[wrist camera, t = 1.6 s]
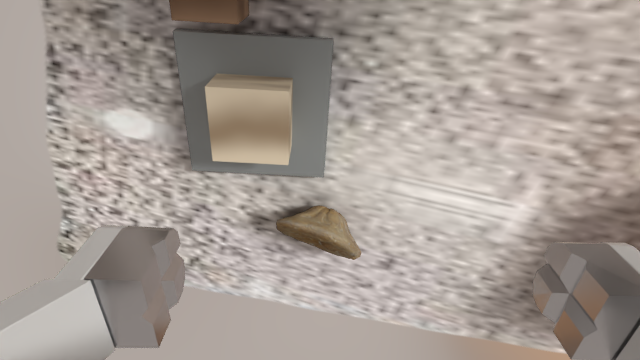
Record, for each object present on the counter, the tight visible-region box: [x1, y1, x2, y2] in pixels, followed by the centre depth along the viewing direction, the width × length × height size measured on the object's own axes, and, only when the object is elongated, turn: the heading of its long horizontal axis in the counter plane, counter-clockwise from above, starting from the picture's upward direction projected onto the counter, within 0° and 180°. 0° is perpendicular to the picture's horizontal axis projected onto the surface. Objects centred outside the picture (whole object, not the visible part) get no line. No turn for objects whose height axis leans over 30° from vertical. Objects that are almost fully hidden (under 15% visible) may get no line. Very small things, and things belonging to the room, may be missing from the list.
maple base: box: [205, 74, 293, 165], centre depth 34 cm, size 7×7×4 cm
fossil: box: [276, 206, 361, 260], centre depth 42 cm, size 9×4×10 cm
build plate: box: [173, 29, 333, 177], centre depth 37 cm, size 14×14×1 cm
